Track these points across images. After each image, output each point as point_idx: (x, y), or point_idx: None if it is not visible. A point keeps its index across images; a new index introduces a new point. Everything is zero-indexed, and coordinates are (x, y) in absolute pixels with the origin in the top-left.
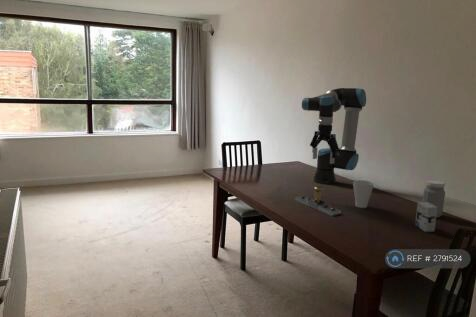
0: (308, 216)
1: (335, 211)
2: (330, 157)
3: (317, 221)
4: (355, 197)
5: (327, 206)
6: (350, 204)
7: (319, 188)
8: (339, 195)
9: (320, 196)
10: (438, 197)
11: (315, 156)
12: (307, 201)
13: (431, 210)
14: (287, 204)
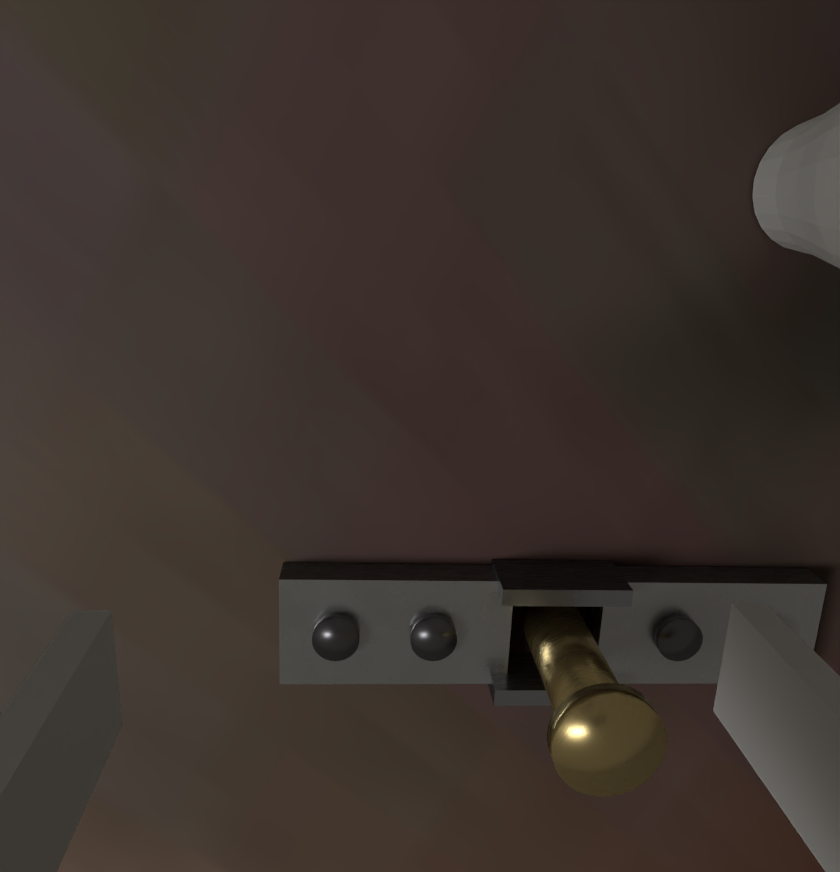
0: (672, 826)
1: (811, 647)
2: (809, 837)
3: (784, 835)
4: (828, 262)
5: (700, 636)
6: (701, 243)
7: (648, 761)
8: (397, 54)
9: (604, 658)
10: None
11: (93, 706)
12: (462, 675)
13: None
14: (350, 795)
